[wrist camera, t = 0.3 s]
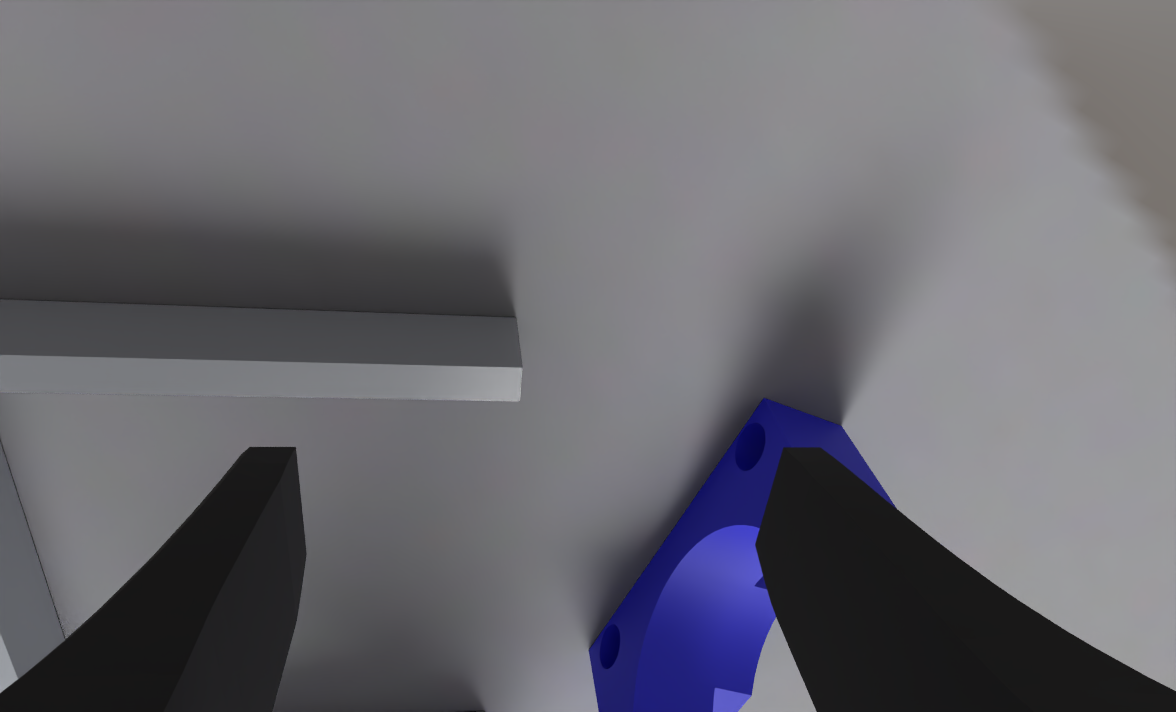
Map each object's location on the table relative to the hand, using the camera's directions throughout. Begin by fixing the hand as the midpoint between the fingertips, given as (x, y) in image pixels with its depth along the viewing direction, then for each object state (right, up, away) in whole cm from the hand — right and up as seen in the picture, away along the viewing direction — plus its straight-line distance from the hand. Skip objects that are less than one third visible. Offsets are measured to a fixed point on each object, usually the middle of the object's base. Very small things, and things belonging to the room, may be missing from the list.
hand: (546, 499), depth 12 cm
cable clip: (+5, -4, +16) cm, 17 cm away
